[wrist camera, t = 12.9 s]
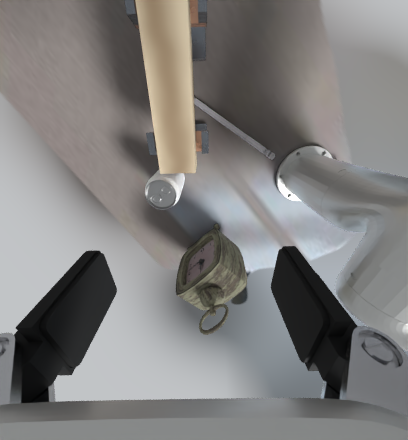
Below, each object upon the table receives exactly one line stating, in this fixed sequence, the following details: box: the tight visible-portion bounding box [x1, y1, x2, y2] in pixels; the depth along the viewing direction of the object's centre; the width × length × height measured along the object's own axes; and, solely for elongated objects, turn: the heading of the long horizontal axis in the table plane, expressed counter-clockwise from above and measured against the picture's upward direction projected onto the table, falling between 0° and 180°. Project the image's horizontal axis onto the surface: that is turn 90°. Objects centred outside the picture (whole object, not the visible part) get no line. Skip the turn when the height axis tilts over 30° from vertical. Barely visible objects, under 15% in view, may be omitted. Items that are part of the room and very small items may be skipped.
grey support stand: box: [125, 0, 208, 155], centre depth 28 cm, size 9×20×13 cm, turn 1°
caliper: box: [194, 97, 276, 160], centre depth 34 cm, size 20×1×6 cm, turn 58°
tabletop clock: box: [176, 224, 247, 335], centre depth 40 cm, size 14×9×25 cm, turn 137°
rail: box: [135, 0, 197, 174], centre depth 22 cm, size 5×22×6 cm, turn 2°
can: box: [145, 169, 185, 210], centre depth 36 cm, size 6×6×12 cm
